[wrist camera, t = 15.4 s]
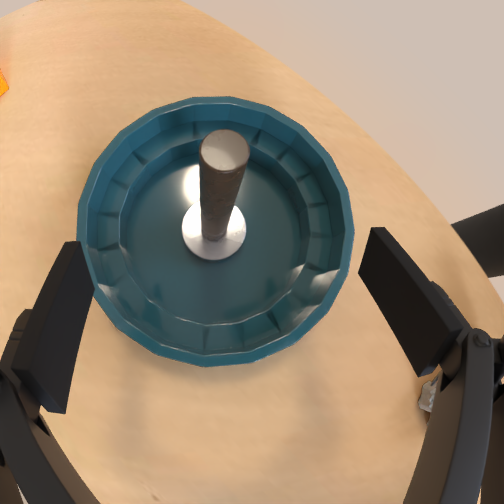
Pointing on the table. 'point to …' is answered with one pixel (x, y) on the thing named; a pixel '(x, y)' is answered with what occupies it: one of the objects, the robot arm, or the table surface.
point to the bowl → (238, 266)
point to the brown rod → (217, 198)
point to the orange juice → (3, 84)
